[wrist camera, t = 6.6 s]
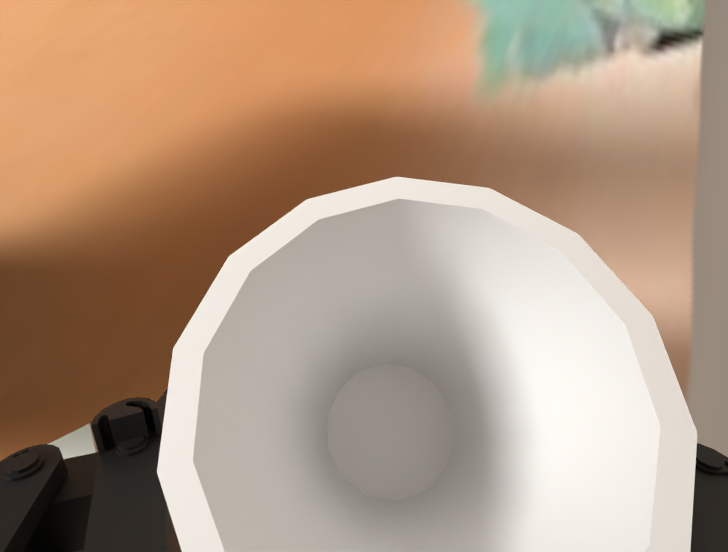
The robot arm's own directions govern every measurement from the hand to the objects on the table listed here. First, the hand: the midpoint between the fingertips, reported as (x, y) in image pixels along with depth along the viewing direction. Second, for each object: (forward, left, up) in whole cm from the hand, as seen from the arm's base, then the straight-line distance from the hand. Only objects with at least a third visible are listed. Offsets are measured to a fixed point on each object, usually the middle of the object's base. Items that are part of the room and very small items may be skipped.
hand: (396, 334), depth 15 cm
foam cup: (+3, -2, -6) cm, 6 cm away
